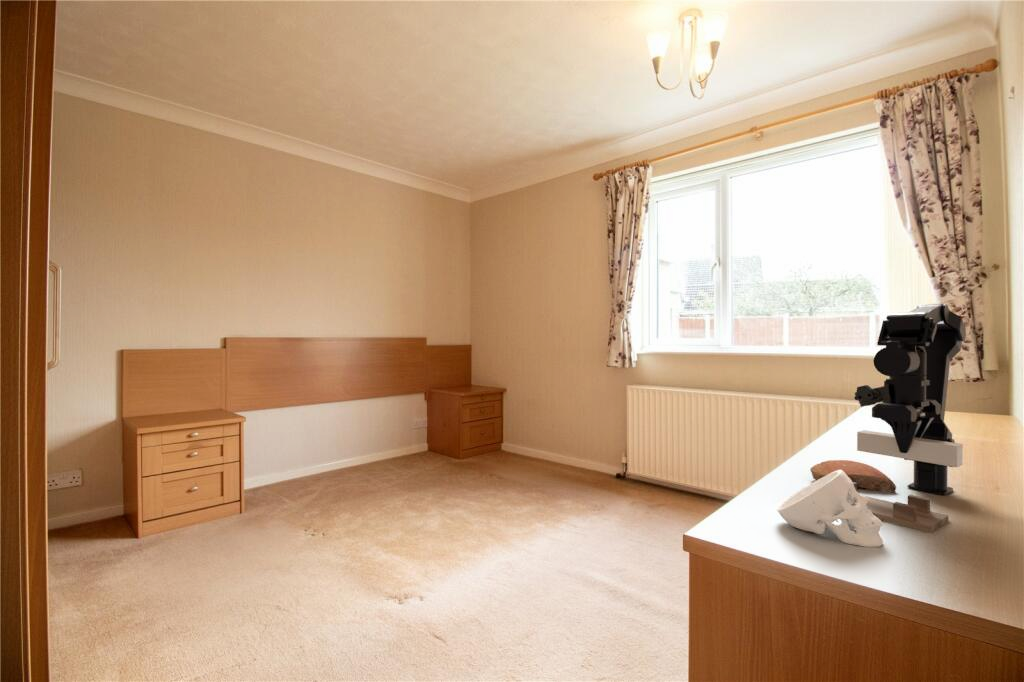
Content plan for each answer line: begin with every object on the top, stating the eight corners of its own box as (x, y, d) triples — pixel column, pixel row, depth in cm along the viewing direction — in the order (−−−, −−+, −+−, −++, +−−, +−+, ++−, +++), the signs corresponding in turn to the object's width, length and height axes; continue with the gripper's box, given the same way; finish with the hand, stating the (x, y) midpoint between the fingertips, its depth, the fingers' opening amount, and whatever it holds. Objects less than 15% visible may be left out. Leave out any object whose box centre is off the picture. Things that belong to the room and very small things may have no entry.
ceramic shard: (799, 450, 122) (864, 462, 119) (796, 476, 121) (861, 488, 118) (825, 457, 108) (900, 470, 105) (822, 485, 107) (897, 500, 104)
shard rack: (828, 491, 105) (828, 476, 105) (948, 520, 88) (948, 502, 88) (807, 500, 99) (807, 483, 99) (930, 533, 83) (930, 513, 83)
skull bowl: (896, 550, 73) (844, 475, 77) (806, 574, 80) (764, 504, 85) (898, 529, 81) (851, 462, 85) (816, 552, 88) (777, 490, 93)
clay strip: (863, 448, 104) (864, 430, 104) (962, 464, 90) (962, 443, 90) (857, 450, 102) (857, 432, 102) (956, 467, 88) (957, 446, 88)
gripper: (877, 370, 108) (877, 439, 108) (842, 373, 97) (841, 449, 97) (941, 373, 99) (941, 448, 99) (910, 377, 88) (909, 461, 88)
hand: (906, 451), depth 96 cm, fingers closed on clay strip, 3 cm apart
